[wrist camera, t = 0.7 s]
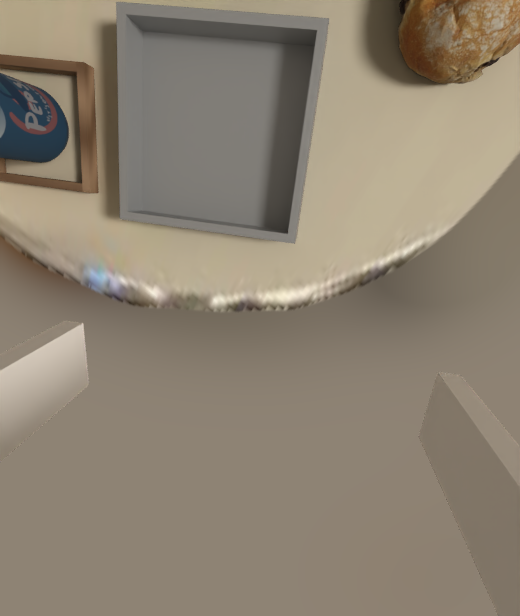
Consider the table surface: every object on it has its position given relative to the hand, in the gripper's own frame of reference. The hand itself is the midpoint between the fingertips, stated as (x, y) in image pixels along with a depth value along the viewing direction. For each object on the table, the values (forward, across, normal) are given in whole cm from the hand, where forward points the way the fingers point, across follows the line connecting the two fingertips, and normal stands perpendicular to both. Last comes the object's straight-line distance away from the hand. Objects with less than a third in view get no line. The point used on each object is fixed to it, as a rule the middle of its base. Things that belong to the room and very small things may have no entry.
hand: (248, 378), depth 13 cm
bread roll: (+26, +11, +21) cm, 35 cm away
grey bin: (+25, -8, +11) cm, 29 cm away
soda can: (+26, -27, +11) cm, 39 cm away
